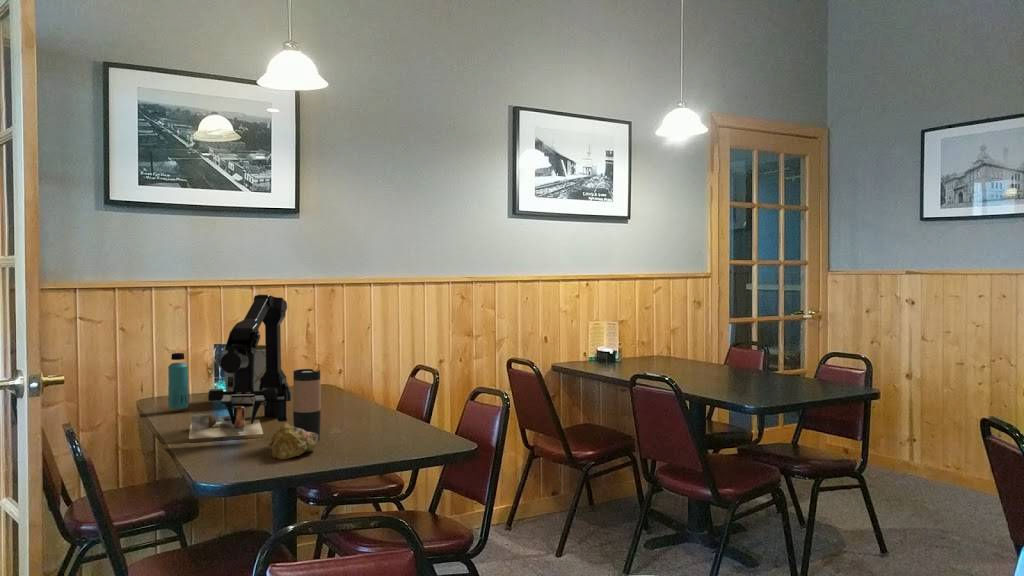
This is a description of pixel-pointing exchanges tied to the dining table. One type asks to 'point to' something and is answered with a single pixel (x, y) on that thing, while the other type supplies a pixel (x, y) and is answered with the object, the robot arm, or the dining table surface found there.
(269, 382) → the robot arm
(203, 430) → the base
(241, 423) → the lever
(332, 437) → the dining table surface
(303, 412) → the travel mug
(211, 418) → the walnut
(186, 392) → the beverage bottle
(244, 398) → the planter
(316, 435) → the rock
